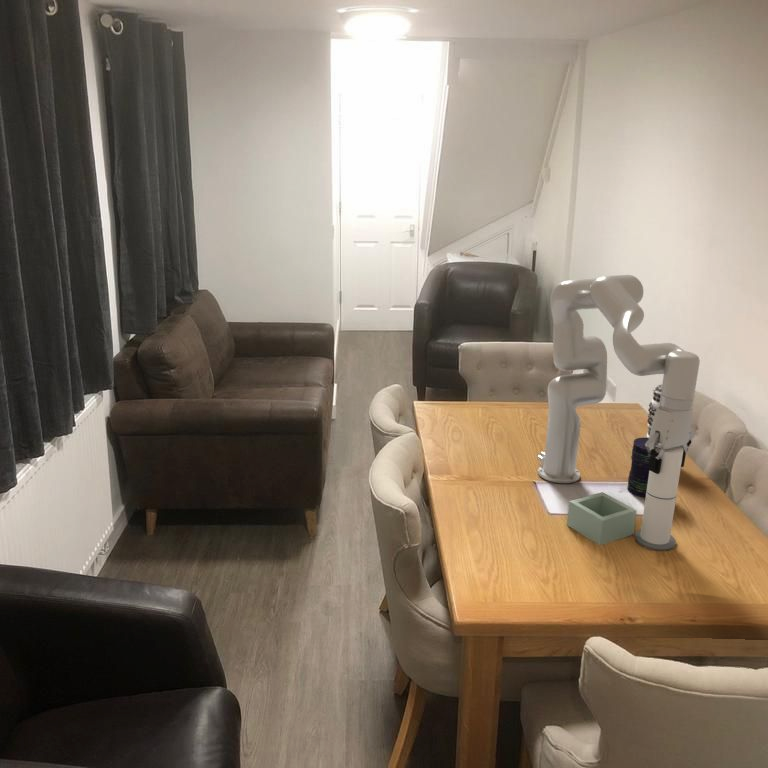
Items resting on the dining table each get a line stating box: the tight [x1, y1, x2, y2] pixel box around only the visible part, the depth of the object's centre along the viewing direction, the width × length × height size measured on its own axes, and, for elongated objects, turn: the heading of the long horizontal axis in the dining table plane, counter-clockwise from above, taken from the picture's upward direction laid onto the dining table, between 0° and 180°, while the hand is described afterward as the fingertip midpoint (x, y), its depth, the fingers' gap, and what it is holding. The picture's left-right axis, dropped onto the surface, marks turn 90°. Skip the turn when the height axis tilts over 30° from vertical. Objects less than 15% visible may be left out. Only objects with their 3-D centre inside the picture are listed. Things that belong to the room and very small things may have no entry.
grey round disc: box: [634, 529, 677, 552], centre depth 201 cm, size 10×10×1 cm
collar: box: [566, 491, 637, 546], centre depth 205 cm, size 12×12×7 cm
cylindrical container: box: [640, 443, 684, 545], centre depth 197 cm, size 7×7×25 cm
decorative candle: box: [645, 384, 662, 438], centre depth 247 cm, size 9×9×25 cm
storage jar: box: [626, 437, 650, 499], centre depth 227 cm, size 10×10×15 cm
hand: (665, 468), depth 195 cm, fingers open, 8 cm apart
